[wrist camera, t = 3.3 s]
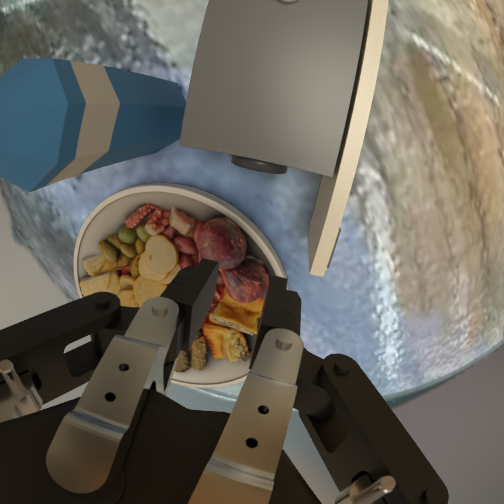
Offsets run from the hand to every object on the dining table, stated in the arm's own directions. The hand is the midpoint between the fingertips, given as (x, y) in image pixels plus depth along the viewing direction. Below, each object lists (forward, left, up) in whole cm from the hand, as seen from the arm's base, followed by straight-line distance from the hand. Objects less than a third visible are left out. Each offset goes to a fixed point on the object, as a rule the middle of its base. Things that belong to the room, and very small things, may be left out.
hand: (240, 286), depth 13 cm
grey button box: (-13, -2, -21) cm, 25 cm away
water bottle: (-6, -16, -21) cm, 27 cm away
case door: (-9, +5, -21) cm, 23 cm away
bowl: (+16, -10, -22) cm, 29 cm away
